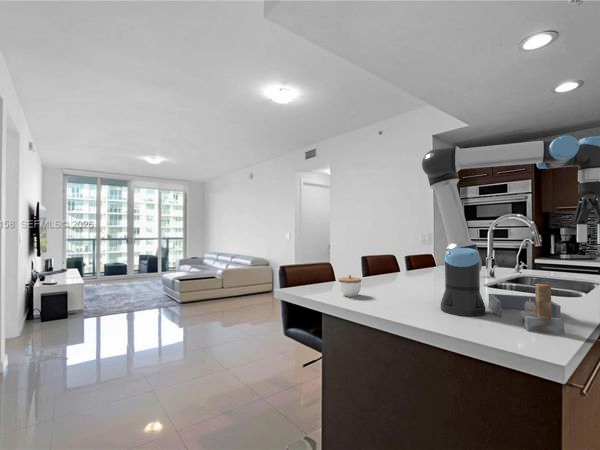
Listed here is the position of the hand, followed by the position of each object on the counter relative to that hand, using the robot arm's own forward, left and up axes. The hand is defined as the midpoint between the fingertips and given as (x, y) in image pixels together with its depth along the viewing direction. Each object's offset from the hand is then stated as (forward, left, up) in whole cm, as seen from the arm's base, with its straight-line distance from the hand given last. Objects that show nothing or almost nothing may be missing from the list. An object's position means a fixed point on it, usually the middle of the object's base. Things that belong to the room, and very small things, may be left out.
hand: (592, 243), depth 111 cm
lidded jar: (-87, +9, -26) cm, 92 cm away
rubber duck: (-22, -15, -26) cm, 37 cm away
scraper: (-21, -24, -26) cm, 41 cm away
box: (-21, -2, -26) cm, 34 cm away
